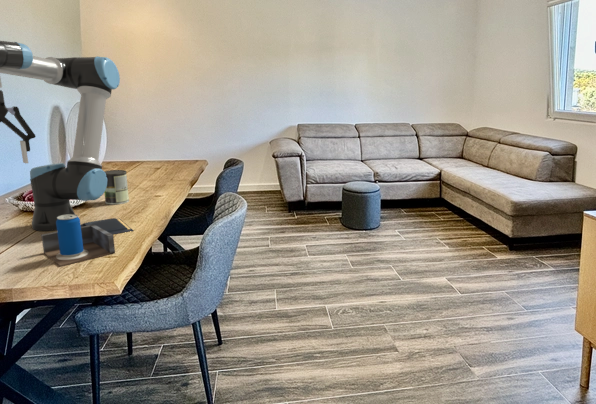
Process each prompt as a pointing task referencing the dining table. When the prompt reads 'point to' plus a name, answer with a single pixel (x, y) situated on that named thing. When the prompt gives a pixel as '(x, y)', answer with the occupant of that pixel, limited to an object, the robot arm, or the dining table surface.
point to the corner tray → (93, 245)
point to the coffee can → (116, 187)
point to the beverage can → (69, 235)
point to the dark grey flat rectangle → (110, 225)
